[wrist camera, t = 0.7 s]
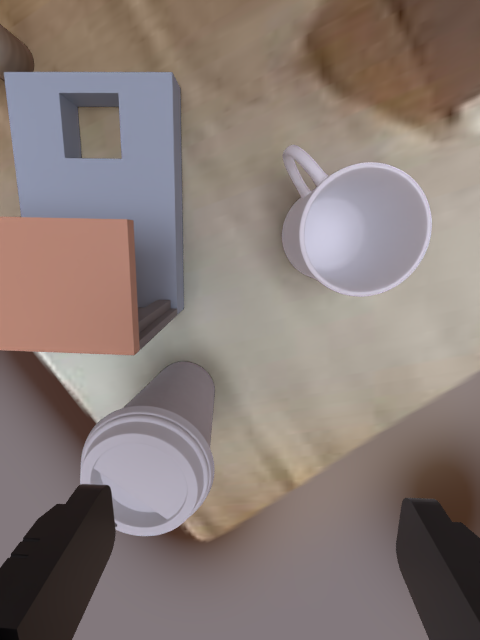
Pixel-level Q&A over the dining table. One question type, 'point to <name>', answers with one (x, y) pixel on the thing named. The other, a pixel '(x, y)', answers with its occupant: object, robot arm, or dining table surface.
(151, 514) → the coffee cup
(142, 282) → the socket board
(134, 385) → the dining table surface
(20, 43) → the peg
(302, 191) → the mug
